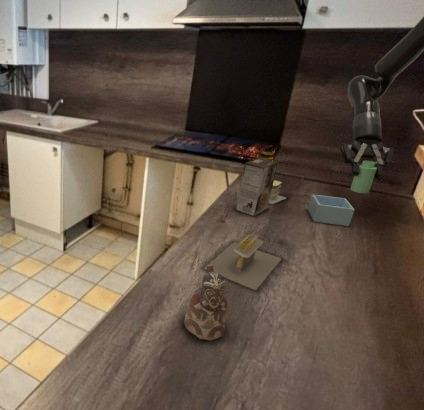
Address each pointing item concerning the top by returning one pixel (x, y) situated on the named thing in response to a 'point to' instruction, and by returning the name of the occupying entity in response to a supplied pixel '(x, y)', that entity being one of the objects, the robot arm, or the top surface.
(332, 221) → the case
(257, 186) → the coffee box
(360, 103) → the robot arm
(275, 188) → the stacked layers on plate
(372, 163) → the bottle
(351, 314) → the top surface
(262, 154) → the condiment
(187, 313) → the figurine
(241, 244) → the platform
